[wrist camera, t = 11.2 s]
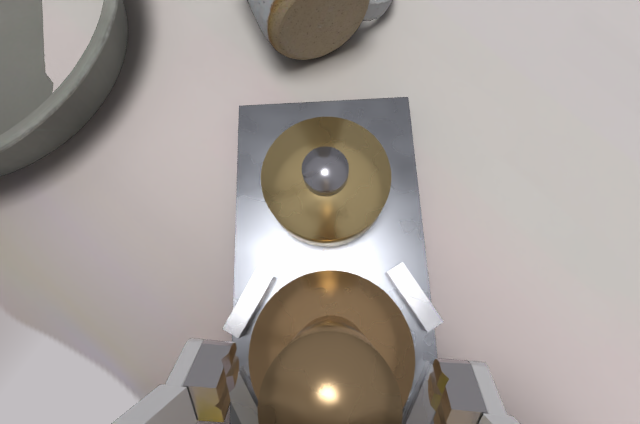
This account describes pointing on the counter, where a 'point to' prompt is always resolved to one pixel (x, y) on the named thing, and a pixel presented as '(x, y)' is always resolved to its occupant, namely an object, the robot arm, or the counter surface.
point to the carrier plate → (347, 258)
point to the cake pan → (36, 88)
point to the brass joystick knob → (331, 353)
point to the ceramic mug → (313, 23)
